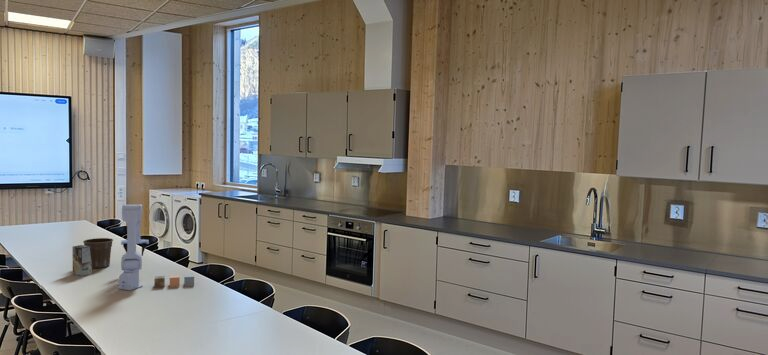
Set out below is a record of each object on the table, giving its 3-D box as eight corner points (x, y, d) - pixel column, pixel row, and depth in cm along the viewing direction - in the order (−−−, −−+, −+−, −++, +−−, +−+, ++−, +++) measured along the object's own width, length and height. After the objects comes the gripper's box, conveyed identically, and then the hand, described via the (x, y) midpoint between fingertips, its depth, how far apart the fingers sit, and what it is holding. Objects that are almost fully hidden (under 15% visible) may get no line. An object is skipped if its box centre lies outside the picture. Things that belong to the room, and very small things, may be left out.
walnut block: (154, 287, 294) (154, 278, 293) (154, 285, 298) (154, 276, 298) (164, 287, 295) (164, 278, 295) (164, 284, 300) (164, 275, 300)
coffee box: (92, 274, 317) (92, 246, 316) (81, 276, 312) (81, 248, 310) (82, 271, 321) (82, 244, 320) (71, 273, 316) (71, 246, 315)
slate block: (184, 286, 299) (184, 277, 299) (184, 283, 304) (184, 274, 303) (194, 285, 301) (194, 276, 300) (193, 283, 305) (193, 274, 305)
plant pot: (76, 268, 330) (76, 241, 329) (96, 262, 345) (96, 237, 344) (99, 270, 326) (99, 243, 325) (118, 264, 342) (119, 239, 341)
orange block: (169, 287, 296) (169, 277, 296) (169, 284, 301) (169, 275, 301) (179, 286, 298) (179, 277, 298) (179, 284, 303) (179, 275, 302)
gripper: (148, 230, 325) (148, 252, 328) (121, 231, 319) (121, 253, 322) (148, 234, 318) (148, 256, 321) (120, 235, 313) (120, 258, 316)
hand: (135, 255), depth 321 cm, fingers open, 7 cm apart
